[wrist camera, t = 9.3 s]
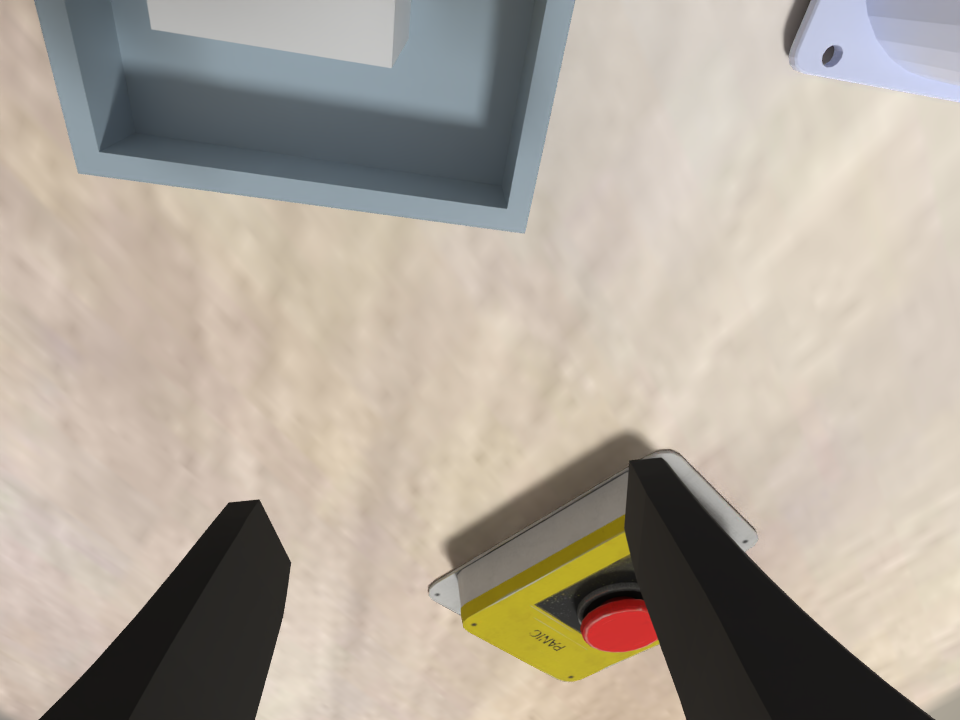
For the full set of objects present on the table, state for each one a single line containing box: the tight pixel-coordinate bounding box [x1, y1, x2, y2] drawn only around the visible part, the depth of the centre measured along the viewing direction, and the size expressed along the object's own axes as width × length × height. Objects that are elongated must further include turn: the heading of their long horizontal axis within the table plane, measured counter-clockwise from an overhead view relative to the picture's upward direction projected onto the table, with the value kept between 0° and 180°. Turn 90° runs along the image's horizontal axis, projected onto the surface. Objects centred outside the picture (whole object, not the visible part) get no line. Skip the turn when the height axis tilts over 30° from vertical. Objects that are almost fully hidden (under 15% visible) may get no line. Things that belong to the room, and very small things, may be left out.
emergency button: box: [429, 451, 758, 682], centre depth 27 cm, size 9×4×15 cm
